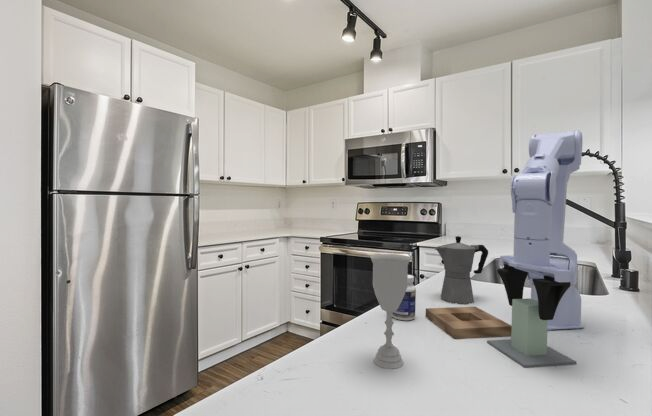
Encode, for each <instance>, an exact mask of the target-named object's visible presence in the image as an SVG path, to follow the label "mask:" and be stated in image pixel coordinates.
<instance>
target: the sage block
mask: <svg viewBox="0 0 652 416" xmlns="http://www.w3.org/2000/svg"><path fill="white" fill-rule="evenodd" d="M511 326H512V331H511V336H510V339H511V347H513V348H515V349H516V350H518V351H520V352H521V353H523V354H525V355H526V356H533V355H547V346H548V330H547V327H548V320H541V319H540V317H539V311H538V301H537V300H534V299H531V297H530V298H523V299H512V306H511Z"/></svg>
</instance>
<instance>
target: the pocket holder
mask: <svg viewBox="0 0 652 416" xmlns="http://www.w3.org/2000/svg"><path fill="white" fill-rule="evenodd" d="M425 317H426V318H427V320H429V321H430V322H431V323H433V324H434V325H436V326H437V327H438V328H440V329H441V330H442V331H443V332H445V333H446V334H448V335H449V336H450V337H451V338H452V339H455V340H456V339H458V340H459V339H474V338H475V339H476V338H490V337H491V338H493V337H494V338H496V337H511V331H512V324H509V323H508V322H505V321H504V320H502V319H500V318H498V317H496V316H494V315H492V314H491V313H489V312H486V311H484V310H483V309H481V308H480V307H477V306H458V307H457V306H456V307H455V306H454V307H433V308H432V307H429V308H427V307H426V308H425Z"/></svg>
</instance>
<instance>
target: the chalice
mask: <svg viewBox="0 0 652 416" xmlns="http://www.w3.org/2000/svg"><path fill="white" fill-rule="evenodd" d="M369 257H370V258H369V259H370V260H371V262H372V287H373V290H374V291H373V292H374V295H375V297H376V299H377V302H378V304H379V307H380V309H381V310H382V311H385V313H386V319H385V321H384V324H385V326H386V328H385V329H386V330H385V331H384V332H383V334H384V336H385V339H386V341H385V343H384V344H383V345H381V346H379V348H378V349H377V352H376V353H375V357H374V358H373V362H374V364H375V365H376V366H378V367H381V368H383V369H387V370H388V369H389V370H390V369H392V370H394V369H398V368H401V367H403V365H404V360H403V358H402V355H401V353H400V350H399V348H398V347H396V346H395V345H394V344H393V342H392V340H393V339H392V338H393V336H394V335H395V333H394V331H393V329H392V327H393V325H394V321H393V317H392V313H393V312H394V311H396V310H397V309H398V307H399V305H400V303H401V301H402V300H403V298H404V295H405V292H406V289H407V281H408V275H409V273H408V272H409V267H408V266H409V263H410V262H411V259H412V257H411V256H408V255H403V254H395V253H379V254H372V255H370V256H369Z"/></svg>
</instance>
